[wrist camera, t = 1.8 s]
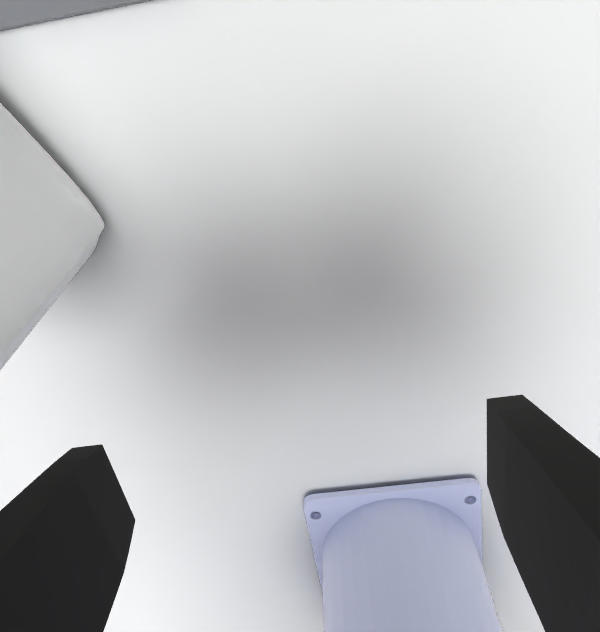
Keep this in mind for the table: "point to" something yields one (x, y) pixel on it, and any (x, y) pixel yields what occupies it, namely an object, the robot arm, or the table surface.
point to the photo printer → (36, 232)
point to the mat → (51, 10)
